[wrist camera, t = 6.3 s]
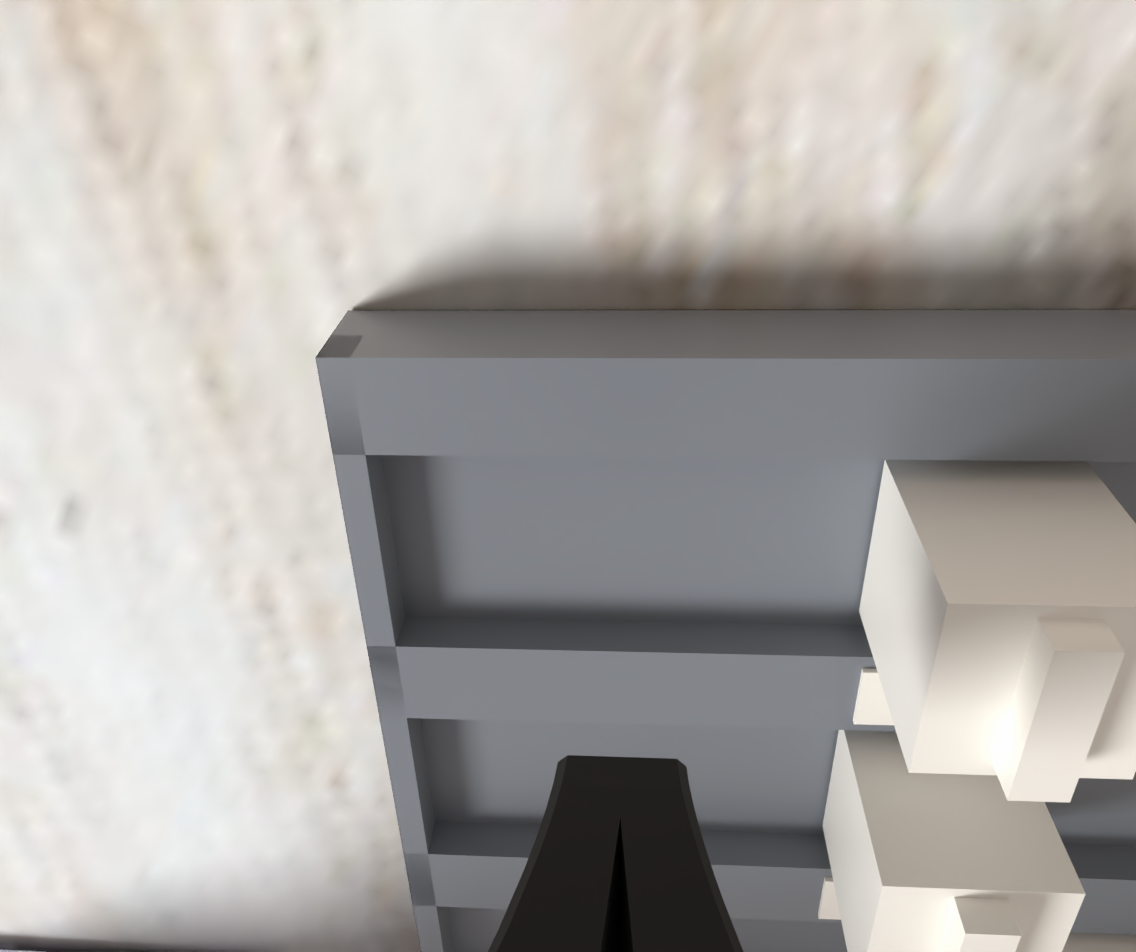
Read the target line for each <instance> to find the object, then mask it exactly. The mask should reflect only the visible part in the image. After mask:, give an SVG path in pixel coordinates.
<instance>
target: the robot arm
mask: <svg viewBox="0 0 1136 952" xmlns="http://www.w3.org/2000/svg"><path fill="white" fill-rule="evenodd" d="M0 952H44V951H21V950H0ZM488 952H743V949H742V947H741V944H740V942H739V939H738V936H737V934H736V931H735V929H734V926H733V924H732V921H731V919H730V916H729V913H728V911H727V908H726V906H725V903H724V901H723V898H722V895H721V892H720V889H719V887H718V884H717V881H716V878H715V875H714V872H713V869H712V866H711V863H710V860H709V857H708V854H707V851H706V847H705V844H704V841H703V838H702V834H701V831H700V827H699V824H698V820H697V816H696V812H695V809H694V805H693V800H692V795H691V791H690V786H689V781H688V774H687V767H686V766H685V765H684V764H683V763H682V762H680V761H679V760H678V759H671V758H640V757H609V756H577V755H567V756H566V757H564V758H563V759H561V760H560V761H559V762H558V763H557V768H556V773H555V778H554V782H553V786H552V790H551V793H550V797H549V800H548V804H547V807H546V810H545V813H544V816H543V820H542V822H541V825H540V828H539V831H538V834H537V837H536V839H535V842H534V845H533V847H532V850H531V853H530V855H529V858H528V861H527V863H526V866H525V869H524V871H523V873H522V876H521V878H520V880H519V883H518V885H517V887H516V890H515V892H514V894H513V897H512V899H511V901H510V904H509V906H508V908H507V911H506V913H505V915H504V918H503V920H502V922H501V925H500V927H499V929H498V931H497V934H496V936H495V938H494V940H493V942H492V944H491V946H490V948H489V950H488Z"/></svg>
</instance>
